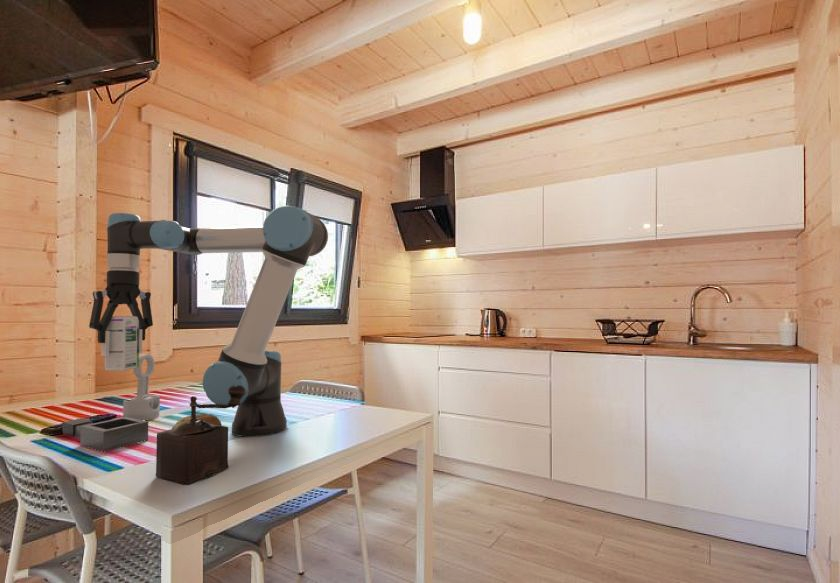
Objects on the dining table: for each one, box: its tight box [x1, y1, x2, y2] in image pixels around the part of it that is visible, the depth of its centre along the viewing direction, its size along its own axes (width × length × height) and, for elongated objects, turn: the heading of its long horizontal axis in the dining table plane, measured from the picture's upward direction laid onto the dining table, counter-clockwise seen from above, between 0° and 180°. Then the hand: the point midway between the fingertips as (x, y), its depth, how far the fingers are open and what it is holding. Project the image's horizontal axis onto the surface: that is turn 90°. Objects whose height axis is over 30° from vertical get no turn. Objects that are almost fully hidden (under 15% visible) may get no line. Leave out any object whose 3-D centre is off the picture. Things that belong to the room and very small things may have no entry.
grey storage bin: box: [61, 416, 149, 453], centre depth 122 cm, size 28×11×5 cm, turn 61°
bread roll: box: [171, 413, 223, 429], centre depth 116 cm, size 10×15×8 cm, turn 156°
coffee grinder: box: [155, 385, 246, 486], centre depth 99 cm, size 16×11×18 cm
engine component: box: [122, 353, 161, 421], centre depth 145 cm, size 11×20×10 cm
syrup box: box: [104, 315, 140, 372], centre depth 122 cm, size 6×6×14 cm
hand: (122, 353), depth 122 cm, fingers closed on syrup box, 8 cm apart
